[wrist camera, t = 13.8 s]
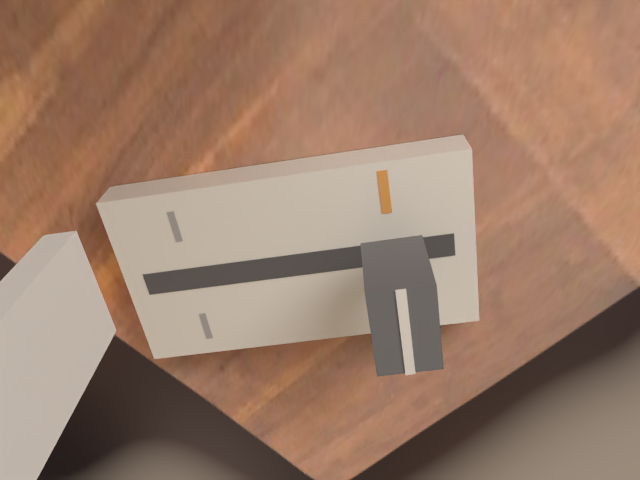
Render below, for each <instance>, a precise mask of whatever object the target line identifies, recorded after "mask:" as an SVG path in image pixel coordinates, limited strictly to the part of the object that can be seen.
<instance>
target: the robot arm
mask: <svg viewBox="0 0 640 480" xmlns="http://www.w3.org/2000/svg"><path fill="white" fill-rule="evenodd" d="M115 332H116V328H115V326H114V323H113V321H112V318H111V316H110V313H109V311H108V308H107V306H106V303H105V301H104V298H103V296H102V293H101V291H100V288H99V286H98V283H97V281H96V278H95V276H94V273H93V271H92V269H91V266H90V264H89V261H88V259H87V256H86V254H85V251H84V249H83V246H82V244H81V241H80V239H79V236H78V234H77V231H71V232H64V233H57V234H50V235H43V236H42V238H41V239H40V240H39V241H38V242H37V243H36V244H35V245H34V246H33V247H32V248H31V249H30V250H29V251H28V252H27V254H26V255H25V256H24V257H23V258H22V259H21V260H20V261H19V262H18V263H17V264H16V265H15V266H14V268H13V269H12V270H11V271H10V272H9V273H8V274H7V275H6V276H5V277H4V278H3V279H2V280H1V281H0V480H37V478H38V476H39V474H40V472H41V470H42V469H43V467H44V465H45V463H46V461H47V459H48V457H49V455H50V454H51V452H52V450H53V448H54V446H55V444H56V442H57V441H58V439H59V437H60V435H61V433H62V431H63V429H64V427H65V426H66V424H67V422H68V420H69V418H70V416H71V415H72V413H73V411H74V409H75V407H76V405H77V403H78V401H79V400H80V398H81V396H82V394H83V392H84V390H85V388H86V386H87V384H88V383H89V381H90V379H91V377H92V375H93V373H94V372H95V370H96V368H97V366H98V364H99V362H100V360H101V359H102V357H103V355H104V353H105V351H106V349H107V347H108V346H109V344H110V342H111V340H112V338H113V336H114V334H115Z"/></svg>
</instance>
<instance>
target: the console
mask: <svg viewBox="0 0 640 480" xmlns="http://www.w3.org/2000/svg"><path fill="white" fill-rule="evenodd" d="M96 205H97V208H98V211H99V213H100V216H101V219H102V221H103V224H104V227H105V229H106V232H107V235H108V237H109V240H110V243H111V245H112V248H113V250H114V253H115V256H116V258H117V261H118V264H119V266H120V269H121V272H122V274H123V277H124V280H125V282H126V285H127V288H128V290H129V293H130V296H131V298H132V301H133V304H134V306H135V309H136V312H137V314H138V317H139V320H140V322H141V325H142V328H143V330H144V333H145V336H146V338H147V341H148V344H149V346H150V349H151V352H152V354H153V357H154V359H160V358H168V357H176V356H185V355H193V354H202V353H210V352H219V351H227V350H236V349H244V348H253V347H261V346H269V345H278V344H286V343H295V342H303V341H312V340H320V339H329V338H337V337H346V336H354V335H363V334H371V332H370V325H369V319H368V312H367V305H366V299H365V290H364V279H363V267H362V256H361V244H360V243H366V242H373V241H381V240H388V239H396V238H403V237H411V236H418V235H422V236H423V239H424V243H425V246H426V250H427V253H428V257H429V260H430V264H431V267H432V271H433V274H434V277H435V281H436V284H437V294H438V306H439V318H440V325H447V324H456V323H464V322H472V321H479V304H478V281H477V257H476V234H475V210H474V187H473V163H472V148H471V147H470V145H469V143H468V142H467V140H466V139H465V137H464V135H456V136H450V137H443V138H436V139H429V140H423V141H416V142H409V143H402V144H396V145H389V146H382V147H375V148H368V149H362V150H355V151H348V152H341V153H335V154H328V155H321V156H314V157H308V158H301V159H294V160H287V161H281V162H274V163H267V164H260V165H254V166H247V167H240V168H233V169H227V170H220V171H213V172H206V173H199V174H193V175H186V176H179V177H172V178H166V179H159V180H152V181H145V182H139V183H132V184H125V185H118V186H112V187H110V188H109V189H108V190H107V191H106V192H105V193H104V195H103V196H102V197H101V198H100V199H99V200H98V202H97V203H96Z"/></svg>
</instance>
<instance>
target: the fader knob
mask: <svg viewBox="0 0 640 480" xmlns="http://www.w3.org/2000/svg"><path fill="white" fill-rule="evenodd" d="M360 244H361V256H362V267H363V279H364V290H365V299H366V305H367V312H368V319H369V325H370V332H371V338H372V345H373V352H374V358H375V365H376V372H377V376H385V375H394V374H403V373H405V375H410V374H415V372H421V371H430V370H439V369H444V367H443V355H442V343H441V331H440V318H439V306H438V294H437V284H436V281H435V277H434V274H433V271H432V267H431V264H430V260H429V257H428V253H427V250H426V246H425V243H424V239H423V236H422V235H418V236H411V237H403V238H396V239H388V240H381V241H373V242H366V243H360Z"/></svg>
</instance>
